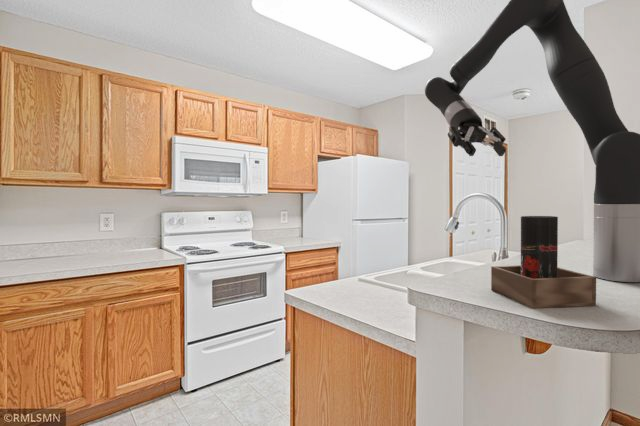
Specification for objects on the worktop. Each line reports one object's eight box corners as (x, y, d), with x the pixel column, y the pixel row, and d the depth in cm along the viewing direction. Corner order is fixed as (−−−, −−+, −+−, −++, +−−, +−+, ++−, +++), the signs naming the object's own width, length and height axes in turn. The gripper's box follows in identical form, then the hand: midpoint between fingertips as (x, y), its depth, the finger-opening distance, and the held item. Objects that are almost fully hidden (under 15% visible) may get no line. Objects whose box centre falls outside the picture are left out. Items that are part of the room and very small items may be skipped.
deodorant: (564, 298, 63) (565, 217, 62) (532, 299, 63) (532, 217, 63) (544, 290, 69) (544, 215, 68) (514, 290, 69) (514, 216, 68)
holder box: (545, 287, 72) (545, 264, 72) (595, 305, 60) (596, 277, 60) (491, 290, 71) (491, 266, 71) (531, 308, 59) (532, 280, 59)
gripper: (444, 106, 95) (469, 141, 85) (490, 108, 98) (520, 141, 87) (435, 129, 101) (457, 165, 90) (478, 130, 103) (505, 164, 93)
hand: (488, 153), depth 89 cm, fingers open, 8 cm apart
